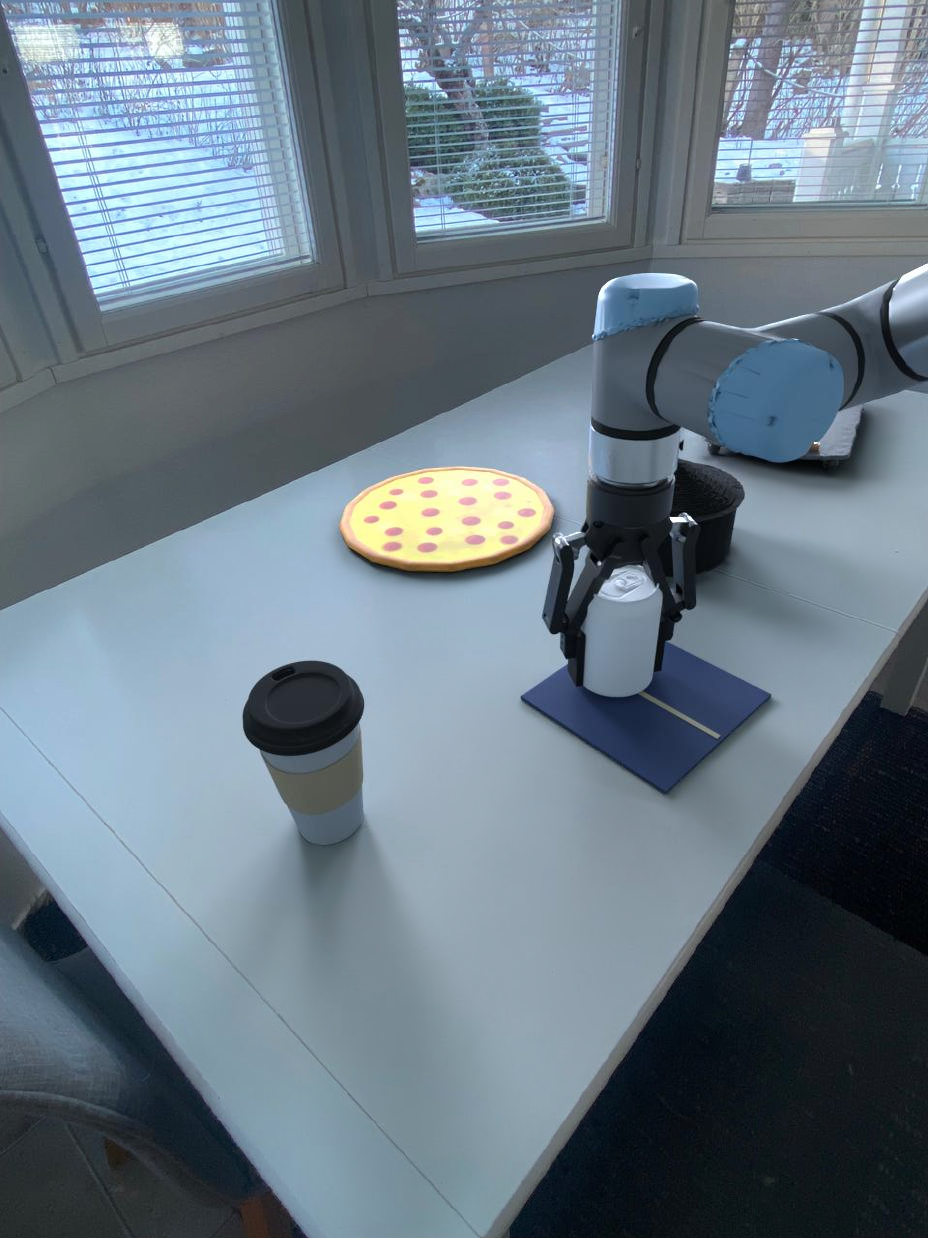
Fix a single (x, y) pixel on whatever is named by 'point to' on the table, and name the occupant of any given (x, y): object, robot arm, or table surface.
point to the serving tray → (826, 439)
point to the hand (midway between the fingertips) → (614, 670)
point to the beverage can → (622, 634)
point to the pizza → (446, 519)
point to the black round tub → (704, 512)
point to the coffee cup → (311, 745)
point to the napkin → (654, 715)
